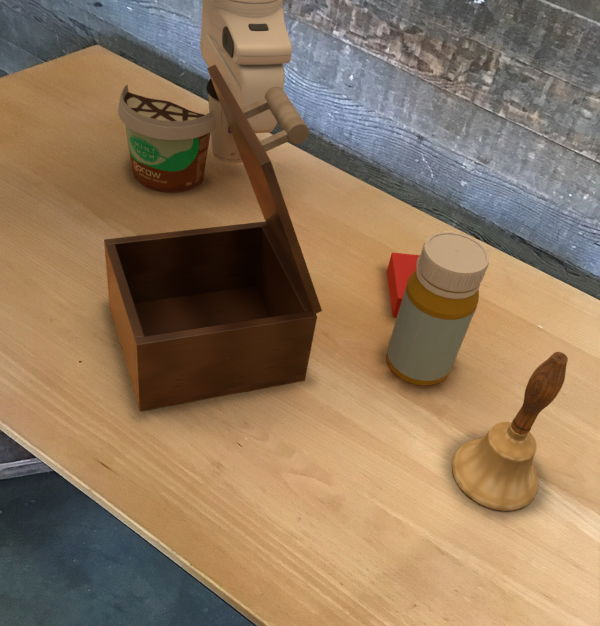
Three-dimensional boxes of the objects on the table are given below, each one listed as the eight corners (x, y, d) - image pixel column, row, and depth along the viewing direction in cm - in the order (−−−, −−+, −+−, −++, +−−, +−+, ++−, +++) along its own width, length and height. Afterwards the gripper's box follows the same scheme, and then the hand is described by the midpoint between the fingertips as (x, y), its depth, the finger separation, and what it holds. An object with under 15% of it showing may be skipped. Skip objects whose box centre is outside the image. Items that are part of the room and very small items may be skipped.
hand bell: (462, 428, 75) (517, 309, 63) (543, 459, 74) (615, 343, 62) (442, 491, 70) (498, 374, 58) (529, 525, 69) (604, 412, 57)
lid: (260, 165, 56) (322, 136, 56) (206, 68, 64) (260, 43, 64) (314, 314, 70) (363, 292, 70) (264, 218, 79) (308, 198, 79)
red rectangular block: (451, 322, 86) (467, 279, 81) (392, 317, 85) (405, 273, 80) (442, 276, 91) (457, 233, 86) (386, 271, 90) (398, 227, 85)
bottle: (459, 359, 82) (505, 248, 71) (433, 399, 77) (477, 287, 66) (402, 332, 84) (437, 219, 72) (373, 368, 79) (407, 254, 68)
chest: (139, 411, 72) (136, 345, 65) (109, 307, 80) (103, 239, 74) (305, 380, 77) (317, 316, 70) (259, 286, 86) (267, 220, 79)
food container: (103, 180, 95) (97, 105, 87) (126, 156, 99) (122, 82, 91) (194, 209, 93) (196, 134, 86) (214, 183, 97) (217, 111, 90)
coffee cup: (191, 146, 98) (195, 71, 90) (235, 134, 101) (241, 60, 94) (224, 174, 95) (230, 98, 87) (267, 160, 98) (276, 86, 91)
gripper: (190, -25, 90) (186, 87, 100) (241, 57, 78) (231, 174, 88) (240, -25, 92) (232, 85, 102) (298, 56, 80) (281, 170, 90)
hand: (232, 127), depth 95 cm, fingers closed on coffee cup, 7 cm apart
